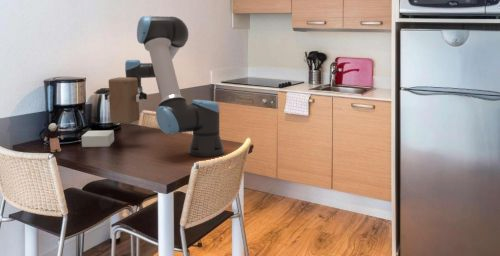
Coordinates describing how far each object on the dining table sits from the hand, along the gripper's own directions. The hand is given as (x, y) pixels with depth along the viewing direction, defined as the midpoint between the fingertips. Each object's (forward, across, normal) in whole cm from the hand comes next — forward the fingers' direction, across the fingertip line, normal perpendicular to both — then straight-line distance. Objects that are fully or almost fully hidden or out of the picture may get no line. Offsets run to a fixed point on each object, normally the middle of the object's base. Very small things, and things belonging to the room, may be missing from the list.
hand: (122, 99), depth 201 cm
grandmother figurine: (+4, +30, -23) cm, 38 cm away
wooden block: (-4, 0, -11) cm, 12 cm away
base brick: (-9, +14, -22) cm, 28 cm away
